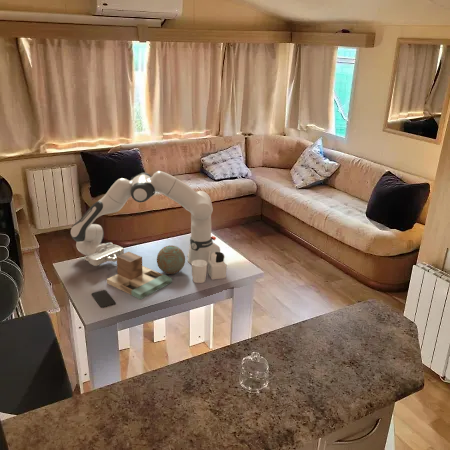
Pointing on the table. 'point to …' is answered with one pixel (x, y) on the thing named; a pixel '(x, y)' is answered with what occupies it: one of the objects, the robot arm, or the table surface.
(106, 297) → the phone
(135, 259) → the walnut block
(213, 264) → the container
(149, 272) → the board
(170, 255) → the decorative sphere
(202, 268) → the white cup
